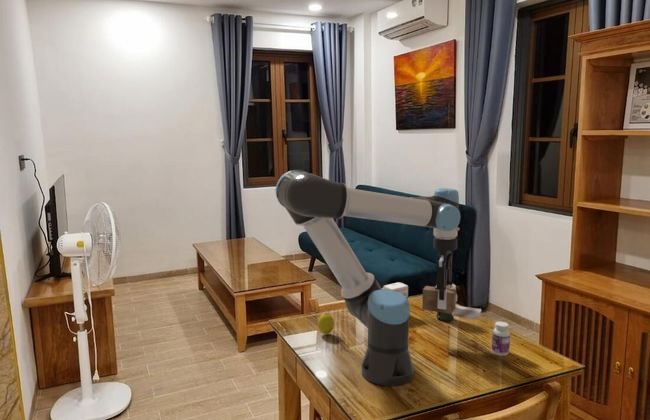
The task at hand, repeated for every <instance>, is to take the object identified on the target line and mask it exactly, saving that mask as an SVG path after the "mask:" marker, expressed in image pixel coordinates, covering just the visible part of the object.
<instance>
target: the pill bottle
mask: <svg viewBox="0 0 650 420" xmlns="http://www.w3.org/2000/svg"><path fill="white" fill-rule="evenodd" d="M509 328H510V327H509V323H508V322H505V321H495V323H494V328H493V329H492V335H491V352H492V353H493V354H494V355H496V356H501V357H505V356H507V355H509V354H510V344H511V332H510V329H509Z"/></svg>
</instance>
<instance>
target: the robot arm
mask: <svg viewBox="0 0 650 420" xmlns="http://www.w3.org/2000/svg"><path fill="white" fill-rule="evenodd" d="M459 194H460V193H459V191H458V190H457V189H453V188H448V187H447V188H446V187H445V188H443V187H442V188H436V189H435V190H434V194H433V195H432V196H417V197H414V196H410V197H407V196H402V195H396V194H388V193H383V192H382V193H381V192H375V191H370V190H364V189H357V188H350V187H348V186H347V185H346V183H343V182H337V181H333V180H329V179H326V178H325V177H321V176H319V175H317V174H314V173H310V172H307V171H304V170H302V169H293V170H289V171H287V172H285V173H283V174H282V175H281V176H280V178H279V179H278V181H277V182H276V187H275V196H276V199H277V202H278V203H279V204H280V205H281V206H282V207H283V208H285V210H286V211H287V213H288V214H289V216H290V217H291V219H292V220H293V222H294V223H295V225H297V226H302V227H303V228H304V230H305V232H307V233H306V234H308V236H309V237H310V240H311V241H312V243H313V244H314V245H315V247H316V248H317V250H318V252H319V253H320V254H321V256H322V258H323V259H324V261H325V262H326V265H327V266H328V267H329V269H330V270H331V272H332V274H333V275H334V277H335V279H336V280H337V282H338V283H339V284H340V286H341V290H340V295H341V297H342V298H343V300H344V304H345V306H346V308H347V310H348V311H349V313H350V314H351V315H352V316H353V317H355V318H356V319H357V320H358V321H359V322H360V323H361V324H362V325H364V327H366V328H367V347H366V351H365V354H364V357H363V359H362V362H361V372H360V373H361V375H362V377H363V378H364V379H365V380H366V381H368V382H369V383H373V384H375V385H380V386H387V387H389V386H391V387H394V386H401V385H404V384H407V383H409V382H410V381H412V380H413V378H414V376H415V365H414V363H413V360H412V356H411V354H410V351H409V341H410V339H409V338H410V337H409V334H410V316H411V309H410V301H409V299H407V298H406V297H405V296H404V295H403V294H401V293H399V292H397V291H396V292H394V291H393V290H383V288H382V286H380V284H379V282H378V280H377V279H376V278H375V275H374V274H373V273H371V272H366V270H365V268H364V267H363V265H362V263H361V262H360V260H359V258H358V257H357V255H356V254H355V252H354V250H353V249H352V247H351V246H350V244H349V243H348V240H347V239H346V237H345V236H344V234H343V233H342V231H341V229H340V228H339V227H338V225H337V224H338V223H336V221H335V220H336V219H337V220H340V219H342V217H349V218H350V217H351V218H357V219H364V220H365V219H366V220H374V221H380V222H381V221H382V222H388V223H394V224H395V223H396V224H403V225H411V226H417V227H425V228H431V229H432V228H433V233H432V234H433V236H434V237H433V243H432V246H433V249H434V250H437V251H438V252H439V254H438V255H437V260H436V262H435V263H436V285H437V287H436V286H435V287H436V288H435V289H437V290H438V309H445V310H446V303H447V290H446V289H450V285H452V284H454V283H453V282H452V280H453V279H452V277H453V276H452V273H453V271H452V270H453V255H454V253H453V252H454V251H456V250H457V249H458V238H457V237H458V232H459V231H460V227H458V226H459V224H460V222H461V212H460V210H459V208H460V207H459V206H460V198H459V197H460V196H459ZM334 219H335V220H334Z"/></svg>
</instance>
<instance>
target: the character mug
mask: <svg viewBox="0 0 650 420" xmlns="http://www.w3.org/2000/svg"><path fill="white" fill-rule="evenodd" d="M435 287H437V284H436V285H435ZM450 289H455V290H456V291H457V285H456V284H454V283H452V285H450ZM456 303H458V294H457V293H456ZM454 317H455V316H452V314H448V313H442V312H436V319H439V320H440V321H451V320H453V319H454Z"/></svg>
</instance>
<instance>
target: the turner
mask: <svg viewBox="0 0 650 420" xmlns="http://www.w3.org/2000/svg"><path fill="white" fill-rule="evenodd" d="M435 288H436V286H429V285H425V286H424V287H423V288H422V308H421V309H422V310H423V311H430V312H436V313H437V312H442V313H448V314H452V316H454V317H458V318H463V319H471V320H479V318H480V316H481V314H482V308H476V307H468V306H462V305H461V306H460V305H456V304H457V302H456V294H457V289H456V290H455V289H446V290H447V303H446V310H445V309H438V290H437V289H435Z"/></svg>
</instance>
